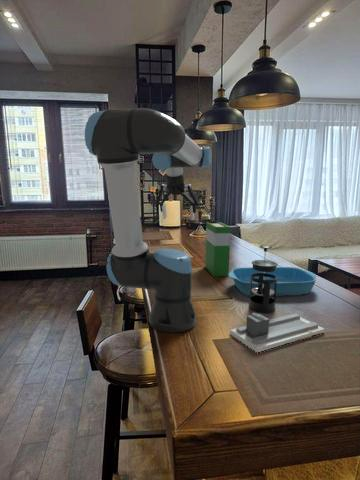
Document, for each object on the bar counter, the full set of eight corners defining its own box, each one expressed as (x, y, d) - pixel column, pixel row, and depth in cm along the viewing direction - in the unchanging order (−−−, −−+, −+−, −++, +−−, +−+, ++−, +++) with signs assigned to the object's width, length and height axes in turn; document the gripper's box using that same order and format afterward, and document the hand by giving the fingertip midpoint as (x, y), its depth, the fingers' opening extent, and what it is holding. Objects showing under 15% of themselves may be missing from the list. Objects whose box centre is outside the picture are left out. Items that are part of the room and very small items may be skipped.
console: (256, 353, 84) (257, 344, 84) (230, 334, 95) (230, 326, 94) (324, 333, 96) (324, 325, 96) (293, 318, 106) (294, 311, 106)
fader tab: (256, 338, 89) (257, 319, 88) (246, 332, 92) (247, 313, 91) (268, 335, 91) (269, 316, 90) (257, 329, 94) (258, 311, 93)
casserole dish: (234, 299, 123) (235, 282, 122) (223, 281, 145) (223, 266, 144) (325, 298, 126) (327, 281, 125) (301, 280, 148) (302, 266, 146)
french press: (246, 302, 120) (249, 242, 116) (271, 302, 120) (275, 243, 116) (251, 314, 109) (255, 249, 105) (279, 315, 108) (284, 250, 104)
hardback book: (205, 266, 170) (206, 222, 165) (218, 266, 171) (220, 222, 166) (213, 276, 153) (215, 227, 148) (228, 275, 154) (230, 226, 149)
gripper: (204, 171, 137) (206, 216, 147) (150, 171, 144) (156, 213, 154) (200, 176, 130) (203, 223, 140) (144, 176, 138) (151, 220, 148)
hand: (178, 218), depth 147 cm, fingers open, 13 cm apart
